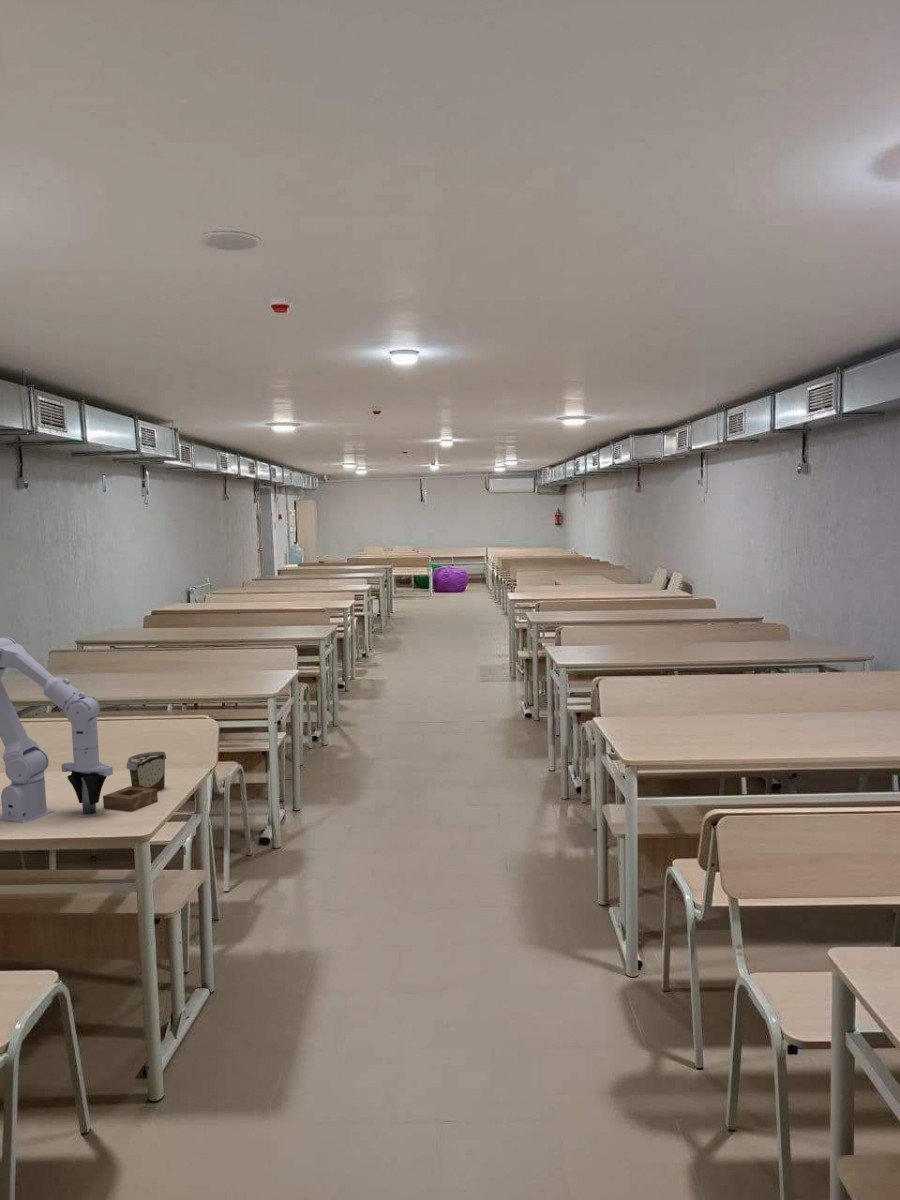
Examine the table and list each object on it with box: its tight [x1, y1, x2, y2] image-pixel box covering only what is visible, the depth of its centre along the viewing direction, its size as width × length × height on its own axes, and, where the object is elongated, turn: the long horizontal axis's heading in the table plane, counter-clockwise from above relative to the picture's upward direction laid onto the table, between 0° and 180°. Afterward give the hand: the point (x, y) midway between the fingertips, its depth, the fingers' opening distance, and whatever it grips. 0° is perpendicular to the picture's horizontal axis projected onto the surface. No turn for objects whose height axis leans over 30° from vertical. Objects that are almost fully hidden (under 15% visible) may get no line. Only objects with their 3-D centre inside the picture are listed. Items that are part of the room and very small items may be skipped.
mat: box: [70, 808, 109, 819], centre depth 215 cm, size 6×6×1 cm
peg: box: [81, 775, 97, 815], centre depth 215 cm, size 3×3×9 cm
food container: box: [125, 751, 167, 793], centre depth 232 cm, size 12×6×10 cm, turn 160°
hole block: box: [102, 785, 159, 813], centre depth 221 cm, size 9×9×4 cm
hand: (89, 802), depth 215 cm, fingers closed on peg, 3 cm apart
